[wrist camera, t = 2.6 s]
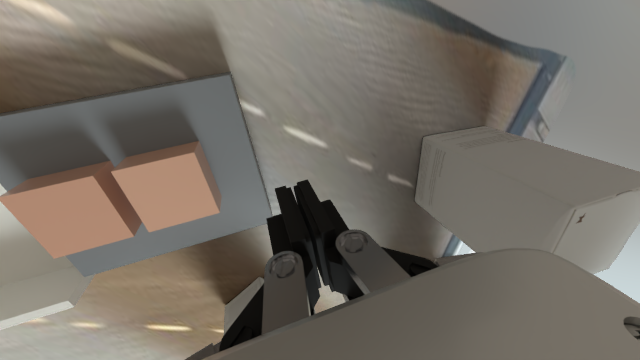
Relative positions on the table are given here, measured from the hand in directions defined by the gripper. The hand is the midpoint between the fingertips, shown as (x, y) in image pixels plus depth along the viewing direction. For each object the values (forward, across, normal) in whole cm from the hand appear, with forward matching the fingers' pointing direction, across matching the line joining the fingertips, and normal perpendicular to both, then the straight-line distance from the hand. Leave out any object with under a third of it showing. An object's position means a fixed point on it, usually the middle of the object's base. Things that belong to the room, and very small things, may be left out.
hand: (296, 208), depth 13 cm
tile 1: (+9, +8, +1) cm, 12 cm away
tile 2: (+9, +14, +1) cm, 17 cm away
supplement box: (+12, -20, +9) cm, 25 cm away
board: (+12, +10, +1) cm, 16 cm away
